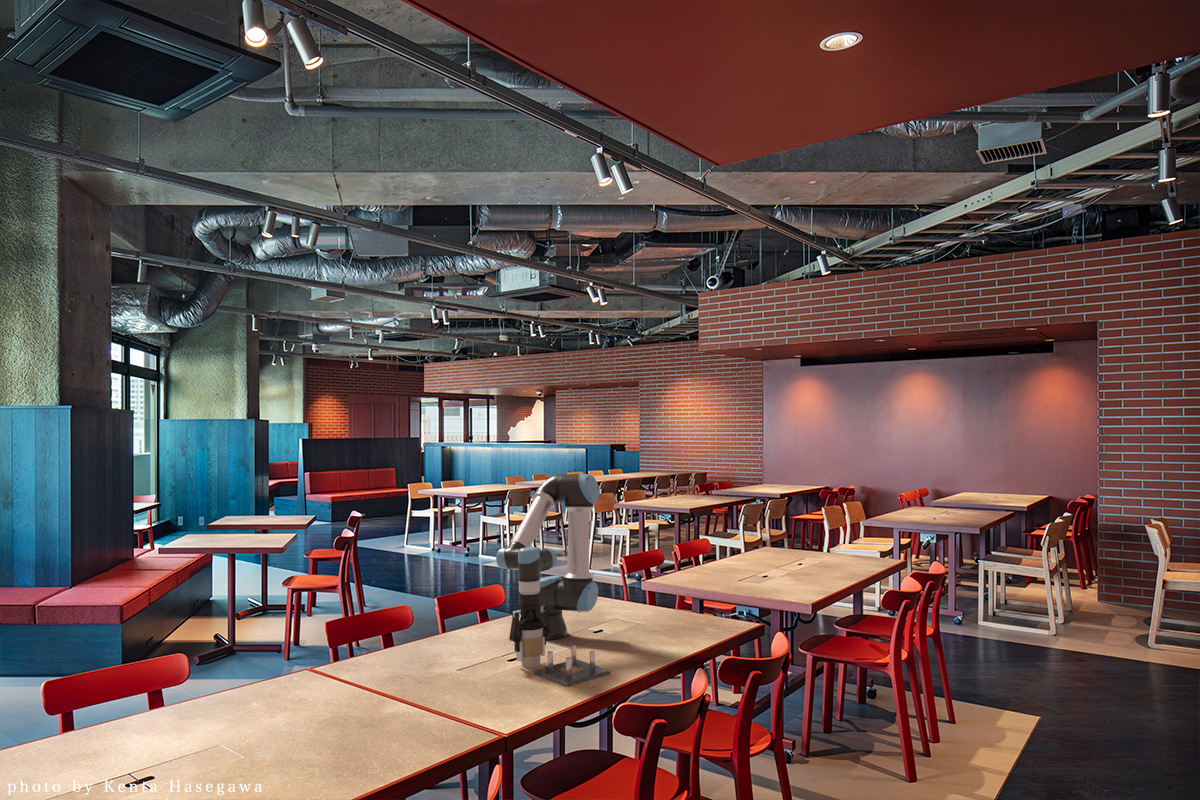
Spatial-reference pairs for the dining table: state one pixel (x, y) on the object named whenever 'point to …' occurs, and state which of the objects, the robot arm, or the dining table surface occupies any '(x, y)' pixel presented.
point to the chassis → (571, 669)
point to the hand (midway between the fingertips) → (530, 657)
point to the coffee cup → (531, 642)
